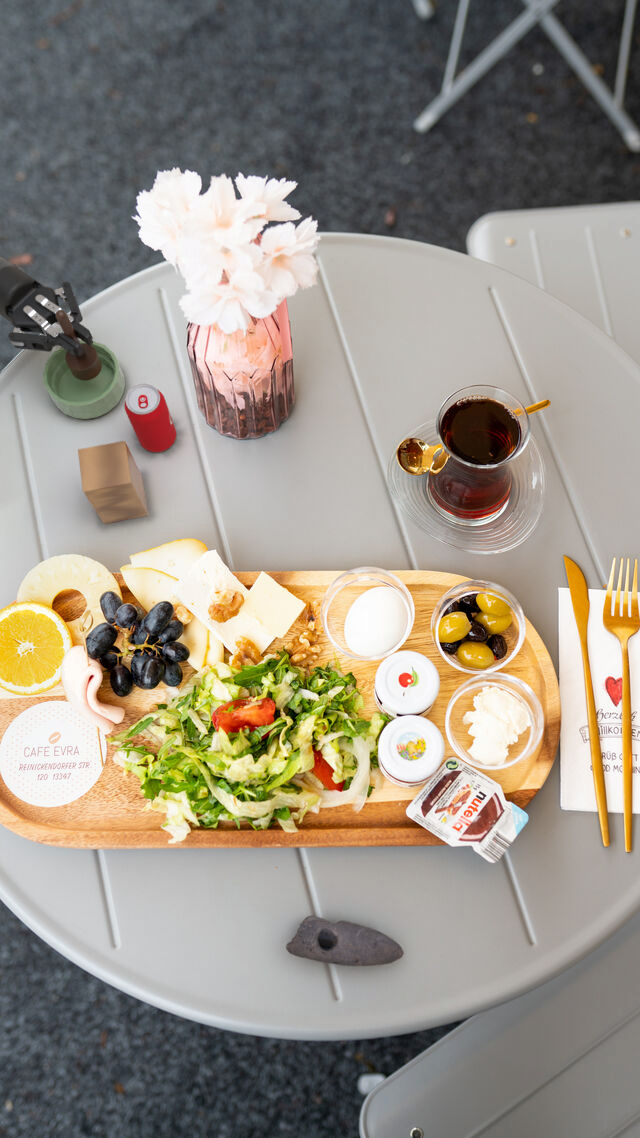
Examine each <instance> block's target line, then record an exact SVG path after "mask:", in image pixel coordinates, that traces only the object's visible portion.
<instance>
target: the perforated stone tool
mask: <svg viewBox="0 0 640 1138" xmlns="http://www.w3.org/2000/svg"><path fill="white" fill-rule="evenodd" d="M285 949H286V950H287V952H288V953H289V954H290V955H293V956H296V957H299V958H303V959H307V960H312V961H315V962H321V963H325V964H332V965H339V966H347V967H350V966H351V967H373V966H383V965H388V964H392V963H395V962H396V961H398V960H400V959H402V958H403V957H404V954H405V952H404V950H403V947H402V946H401V945H400V944H399V943H398V942H397V941H395V940H394V939H393V938H392V937H390V936H388V935H387V934H385V933H382V932H381V931H379V930H376V929H374V928H371V927H368V926H365V925H362V924H358V923H354V922H350V921H346V920H339V921H337V922H336V923H333V922H330V921H329V920H327V919H324V918H323V917H320V916H317V915H308V916H306V917H305V918H304V919H303V920H302V922H301V923H299V926H298V927H297V930H296V932H295V935H294V936H293V938H292V939H291V940H290V941H289V942H287V943H286V946H285Z"/></svg>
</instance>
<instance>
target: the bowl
mask: <svg viewBox="0 0 640 1138" xmlns="http://www.w3.org/2000/svg"><path fill="white" fill-rule="evenodd" d="M79 341H80V343H85V342H83V341H82V340H79ZM91 346H93V347H94V348H95V350H96V352H97V354H98V356H99V358H100V360H101V363H102V369H101V371H100V373H99V374H98V375H97V376H96V377H95V378H93V379H91V380H86V381H84V380H79V379H77V378H75V377H74V376H73V374H72V373H71V371H70V369H69V367H68V365H67V363H66V360H65V357H66V353H67V351H66V350H65V349H64V348H62V347H61V346H60V347H59V348H58V349H57V350H56V351H55V352H53V353H52V354H51V355H50V356H49V359H48V360H46V361H47V362H46V363H45V365H44V369H43V372H42V377H43V385H44V387H45V389H46V391H47V393H48V394H49V396H50V398H51V400H52V401H53V403H54V405H55V406H56V408H57V409H59V411H61V412H62V413H63V414H64V415H67V416H69V417H72V418H74V419H82V420H88V419H95V418H98V417H101V416H103V415H105V414H107V413H109V412H110V411H111V410H112V409H113V408H115V407H116V406H117V405H118V404H119V402H120V401H121V399H122V397H123V395H124V391H125V387H126V382H125V381H126V380H125V375H124V372H123V370H122V368H121V365H120V362H119V360H118V359H117V357H116V355H115V353H114V352H113V351H112V350H111V349H110V348H109V347H107V346H106V345H105V344H102V343H100V342H97V341H94V340H93V344H92V345H91Z"/></svg>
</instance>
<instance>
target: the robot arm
mask: <svg viewBox="0 0 640 1138" xmlns="http://www.w3.org/2000/svg"><path fill="white" fill-rule="evenodd" d="M61 286H62V287H59V288H56V289H53V288H52V287H50V286H44V285H42V284H41V283H40V282H39V281H38V280H36V279H35V278H33V277H32V276H30V275H29V274H28V273H26V272H25V271H23V270H22V269H21V268H19V267H18V265H16V264H15V263H12V262H11V261H9V260H8V259H6V258H4V257H2V256H0V316H1V317H3V318H4V319H5V320H6V321H8V322H9V323H11V325H12V326H13V330H12V331H11V332H10V333H9V334H8V336H7V337H8V339H9V341H10V342H11V344H12V345H13V347H14V348H15V349H19V350H27V351H36V352H37V351H39V352H46V353H47V352H48V353H49V352H52V350H53V348H55V347H56V346H58V347H60V348H61V347H62V348H64V349H65V350H66V351H68V352H69V353H70V354H72V355H76V354H78V355H79V356H80V355H81V354H82V353H83V350H82V348H81V346H80V345H79V344H78V343H76V342H75V341H74V340H72V339H71V338H70V337H68V336H67V335H65V334H64V332H63V331H62V332H61V333H60V331H59V330H58V329H56V328H55V327H54V326H53V325H54V324H56V325H58V326H60V324H59V322H58V320H57V318H56V312H57V311H58V310H63V308H61V307H60V303H59V299H61V300H62V302H63V303H66V304H68V307H69V310H70V313H67V315H68V318H69V320H70V322H71V324H72V326H73V328H74V330H75V332H76V335H77V337H78V339H79V340H80V341H83V342H85V343H86V344H88V345H89V346H91V345H92V344H93V341H94V340H93V339H94V337H93V334H92V333H91V331H90V330H89V328H87V327H86V326H84V325H83V324H81V322H83V320H84V318H83V315H82V312H81V309H80V306H79V304H78V300H77V298H76V295H75V292H74V290H73V287H72V285H71V283H70V282H69V281H63V283H62V284H61ZM37 333H38V334H37Z"/></svg>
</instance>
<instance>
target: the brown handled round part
mask: <svg viewBox="0 0 640 1138" xmlns="http://www.w3.org/2000/svg"><path fill="white" fill-rule="evenodd" d="M67 314H68V312H66V311H65V310H64V309H62V310H58V311H57V312H56V318H57V320H58V322H59V324H60V325H59V327H60V328H61V330H62V332H63V333H64V334H65V335H67V336H68V337H70V338H71V339H72V340H74V341H75V342H76V343H78V344H79V345H80V346H81V348H82V350H83V353H82V354H81V355H80V356H79V355H78V354H76V355H72V354H70V353H69V352H68V351H67V353H66V357H65V360H66V363H67V365H68V367H69V369H70V371H71V373H72V374H73V376H74V377H75V378H77V379H79V380H84V381H86V380H91V379H93V378H95V377H96V376H97V375H98V374H99V373H100V371H101V369H102V363H101V360H100V358H99V356H98V354H97V352H96V350H95V348H94V347H93V346H89V345H88V344H86V343H80V341H81V340H80V339H79V338H78V337H77V335H76V332H75V330H74V328H73V326H72V324H71V322H70V320H69V318H68V315H67Z"/></svg>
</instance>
